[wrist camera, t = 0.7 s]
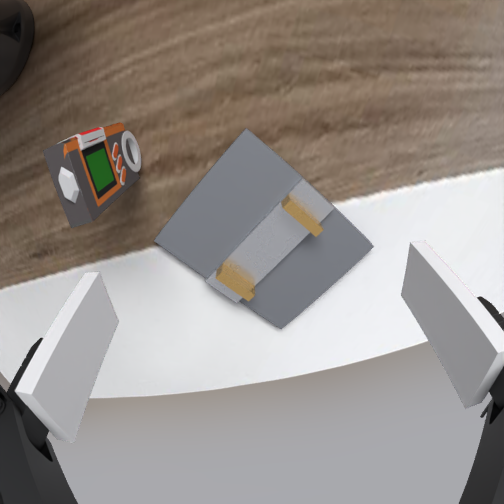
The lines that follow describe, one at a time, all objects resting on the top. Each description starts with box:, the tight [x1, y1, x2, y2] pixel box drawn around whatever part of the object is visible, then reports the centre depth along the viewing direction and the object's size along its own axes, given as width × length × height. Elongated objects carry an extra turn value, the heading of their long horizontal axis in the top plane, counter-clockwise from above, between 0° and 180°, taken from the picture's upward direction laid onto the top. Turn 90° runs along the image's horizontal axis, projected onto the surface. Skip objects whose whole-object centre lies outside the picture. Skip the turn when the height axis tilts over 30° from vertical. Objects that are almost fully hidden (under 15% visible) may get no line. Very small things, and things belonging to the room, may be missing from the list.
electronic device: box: [43, 123, 141, 228], centre depth 27 cm, size 7×3×15 cm, turn 13°
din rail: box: [205, 177, 334, 303], centre depth 37 cm, size 5×17×3 cm, turn 139°
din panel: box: [154, 128, 374, 329], centre depth 39 cm, size 21×17×1 cm
